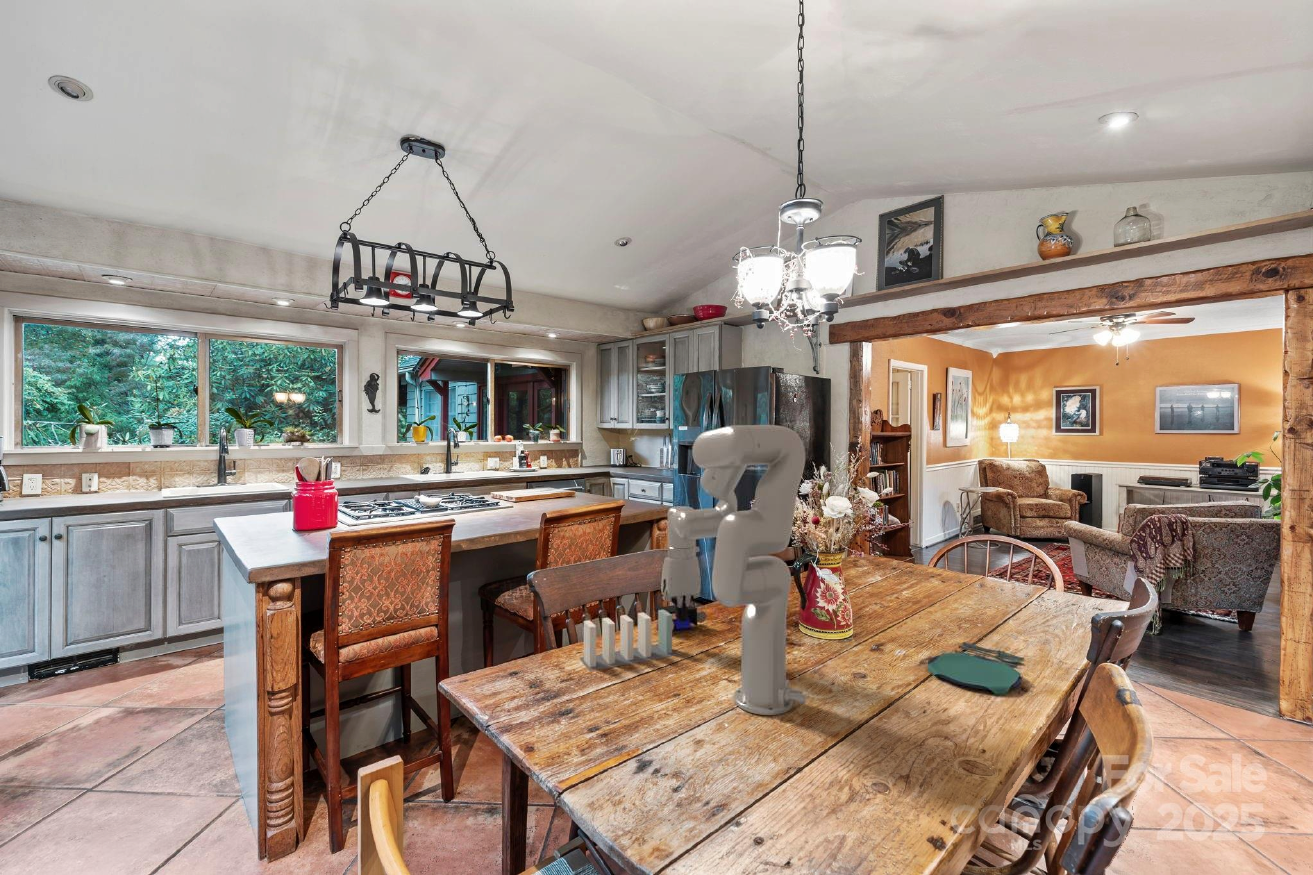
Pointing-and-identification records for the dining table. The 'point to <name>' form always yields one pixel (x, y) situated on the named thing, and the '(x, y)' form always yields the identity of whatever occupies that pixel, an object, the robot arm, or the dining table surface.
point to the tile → (665, 631)
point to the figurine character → (692, 617)
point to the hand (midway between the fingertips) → (681, 620)
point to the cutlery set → (978, 669)
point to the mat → (620, 660)
